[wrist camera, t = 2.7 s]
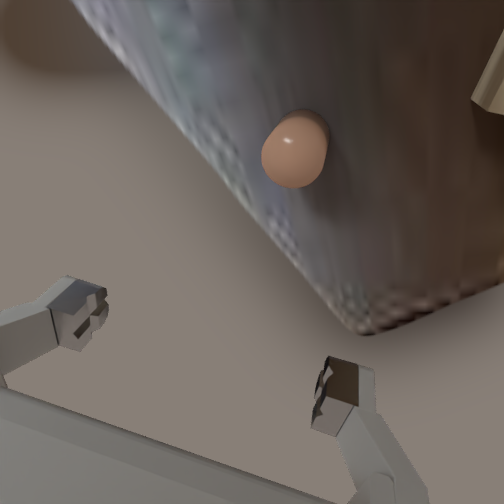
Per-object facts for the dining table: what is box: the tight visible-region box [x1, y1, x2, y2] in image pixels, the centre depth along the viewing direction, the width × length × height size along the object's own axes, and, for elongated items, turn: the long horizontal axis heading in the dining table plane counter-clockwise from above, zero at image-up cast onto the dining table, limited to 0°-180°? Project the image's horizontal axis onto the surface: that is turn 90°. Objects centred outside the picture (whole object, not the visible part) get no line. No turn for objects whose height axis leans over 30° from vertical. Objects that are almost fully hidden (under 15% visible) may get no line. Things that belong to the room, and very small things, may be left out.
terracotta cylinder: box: [261, 109, 330, 188], centre depth 31 cm, size 5×5×6 cm
